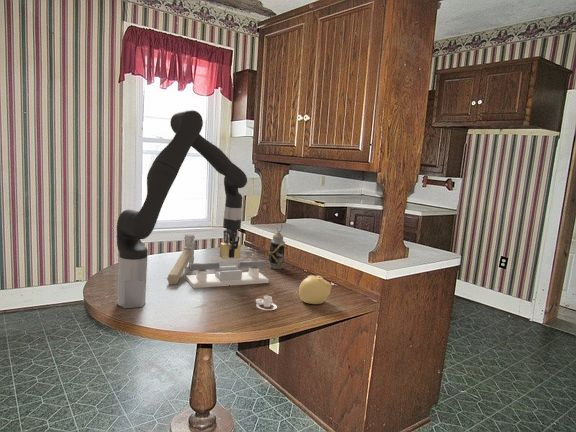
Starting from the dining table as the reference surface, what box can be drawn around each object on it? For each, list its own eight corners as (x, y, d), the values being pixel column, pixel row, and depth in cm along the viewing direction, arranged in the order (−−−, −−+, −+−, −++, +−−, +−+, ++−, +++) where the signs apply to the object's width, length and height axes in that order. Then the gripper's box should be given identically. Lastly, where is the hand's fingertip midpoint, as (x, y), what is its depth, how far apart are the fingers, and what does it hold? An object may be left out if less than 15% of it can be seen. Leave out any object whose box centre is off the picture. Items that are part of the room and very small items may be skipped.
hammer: (178, 263, 165) (195, 233, 193) (166, 262, 165) (185, 232, 193) (178, 297, 171) (195, 262, 199) (167, 296, 171) (185, 261, 199)
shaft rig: (268, 282, 183) (270, 264, 182) (193, 288, 167) (194, 267, 166) (257, 274, 194) (259, 257, 192) (185, 278, 177) (186, 259, 176)
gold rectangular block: (239, 258, 179) (241, 244, 178) (222, 258, 175) (223, 245, 174) (236, 255, 182) (237, 242, 181) (219, 256, 179) (220, 242, 178)
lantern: (285, 269, 206) (290, 220, 203) (270, 269, 203) (275, 220, 199) (279, 264, 214) (284, 217, 211) (264, 264, 211) (269, 217, 207)
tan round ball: (333, 303, 165) (336, 278, 163) (312, 309, 157) (315, 282, 155) (313, 294, 173) (316, 270, 172) (292, 299, 165) (295, 273, 164)
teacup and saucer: (252, 303, 158) (253, 293, 158) (271, 302, 162) (272, 292, 161) (260, 312, 150) (261, 301, 150) (280, 310, 154) (281, 300, 153)
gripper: (218, 214, 180) (216, 252, 183) (230, 220, 168) (226, 261, 171) (235, 214, 184) (232, 251, 187) (247, 220, 172) (243, 260, 174)
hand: (229, 255), depth 179 cm, fingers closed on gold rectangular block, 4 cm apart
